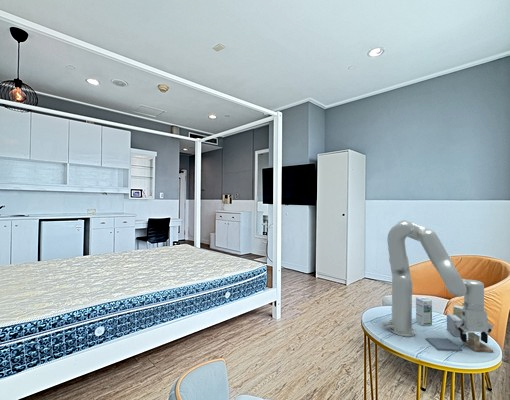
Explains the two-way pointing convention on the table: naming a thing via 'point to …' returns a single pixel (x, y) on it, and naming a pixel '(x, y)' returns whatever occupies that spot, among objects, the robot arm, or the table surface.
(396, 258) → the robot arm
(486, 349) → the stub
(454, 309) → the skincare box
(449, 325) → the medicine box
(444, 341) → the plate
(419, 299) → the syrup box
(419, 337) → the table surface
